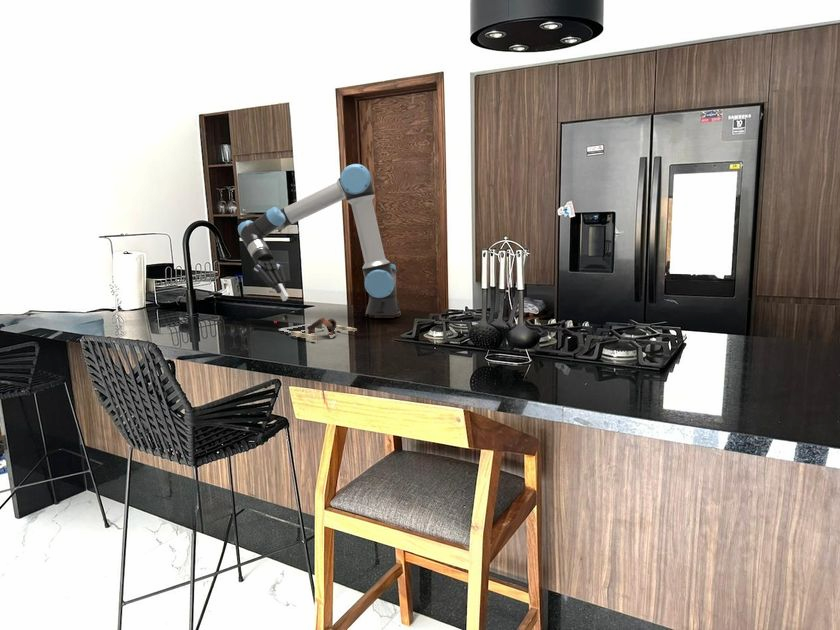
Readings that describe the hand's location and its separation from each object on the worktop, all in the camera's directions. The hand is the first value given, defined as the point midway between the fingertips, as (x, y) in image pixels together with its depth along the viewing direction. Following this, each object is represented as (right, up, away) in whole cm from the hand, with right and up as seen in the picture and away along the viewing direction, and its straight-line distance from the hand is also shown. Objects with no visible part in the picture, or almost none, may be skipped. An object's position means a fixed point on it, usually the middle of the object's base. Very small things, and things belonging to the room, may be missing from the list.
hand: (285, 298), depth 240 cm
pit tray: (+7, -13, -4) cm, 15 cm away
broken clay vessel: (+17, -15, -13) cm, 26 cm away
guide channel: (+17, -14, -13) cm, 26 cm away
